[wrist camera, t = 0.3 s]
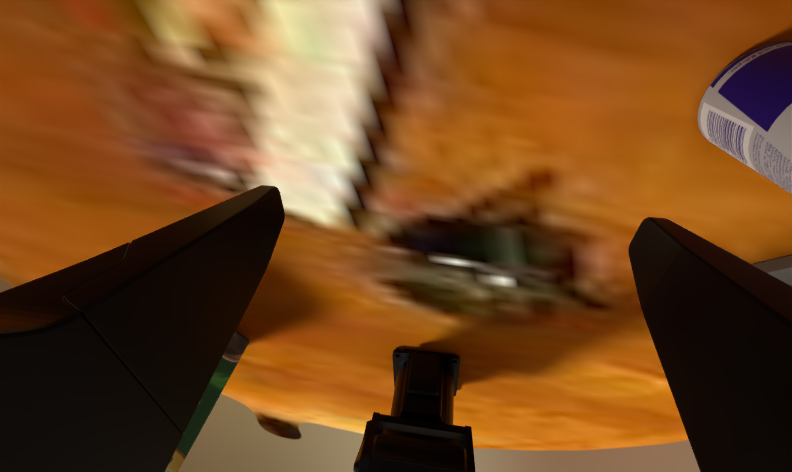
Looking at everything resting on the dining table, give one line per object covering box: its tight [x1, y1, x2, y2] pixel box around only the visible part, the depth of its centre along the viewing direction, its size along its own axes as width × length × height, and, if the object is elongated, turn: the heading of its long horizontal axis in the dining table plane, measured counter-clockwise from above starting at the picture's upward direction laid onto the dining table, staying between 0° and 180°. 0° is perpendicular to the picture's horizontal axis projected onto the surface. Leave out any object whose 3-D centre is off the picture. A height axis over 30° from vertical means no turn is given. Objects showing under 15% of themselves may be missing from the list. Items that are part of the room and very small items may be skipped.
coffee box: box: [165, 331, 249, 472], centre depth 32 cm, size 8×3×13 cm, turn 40°
